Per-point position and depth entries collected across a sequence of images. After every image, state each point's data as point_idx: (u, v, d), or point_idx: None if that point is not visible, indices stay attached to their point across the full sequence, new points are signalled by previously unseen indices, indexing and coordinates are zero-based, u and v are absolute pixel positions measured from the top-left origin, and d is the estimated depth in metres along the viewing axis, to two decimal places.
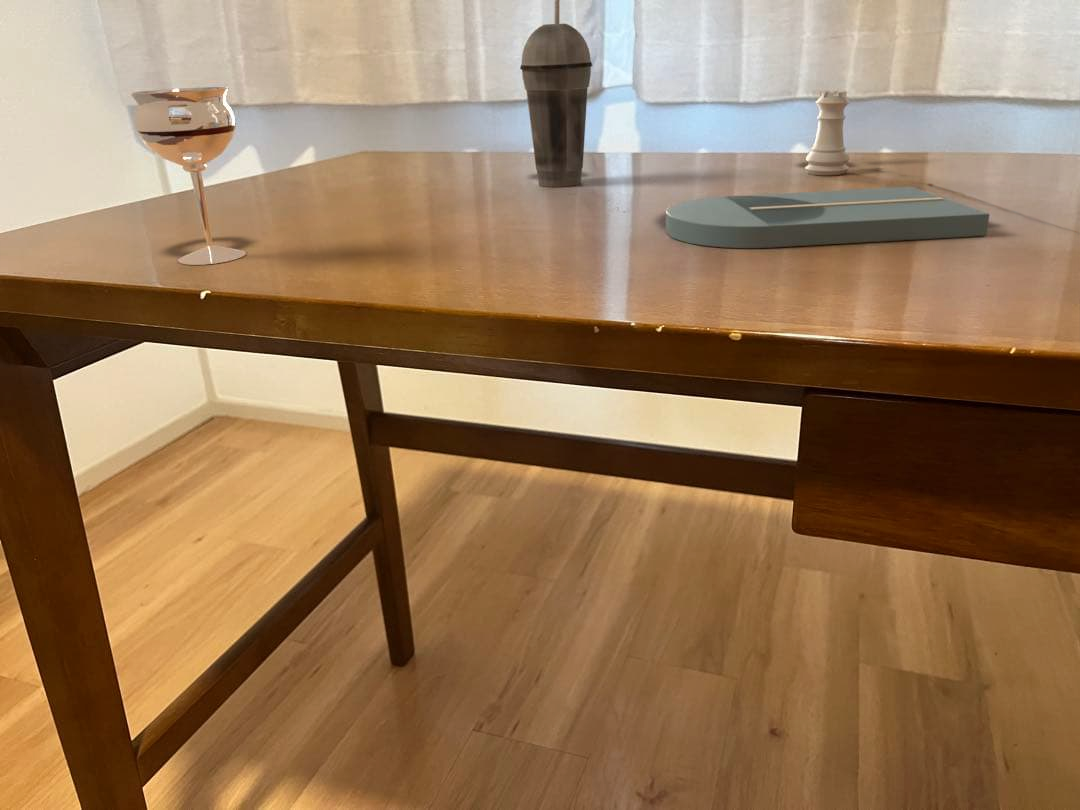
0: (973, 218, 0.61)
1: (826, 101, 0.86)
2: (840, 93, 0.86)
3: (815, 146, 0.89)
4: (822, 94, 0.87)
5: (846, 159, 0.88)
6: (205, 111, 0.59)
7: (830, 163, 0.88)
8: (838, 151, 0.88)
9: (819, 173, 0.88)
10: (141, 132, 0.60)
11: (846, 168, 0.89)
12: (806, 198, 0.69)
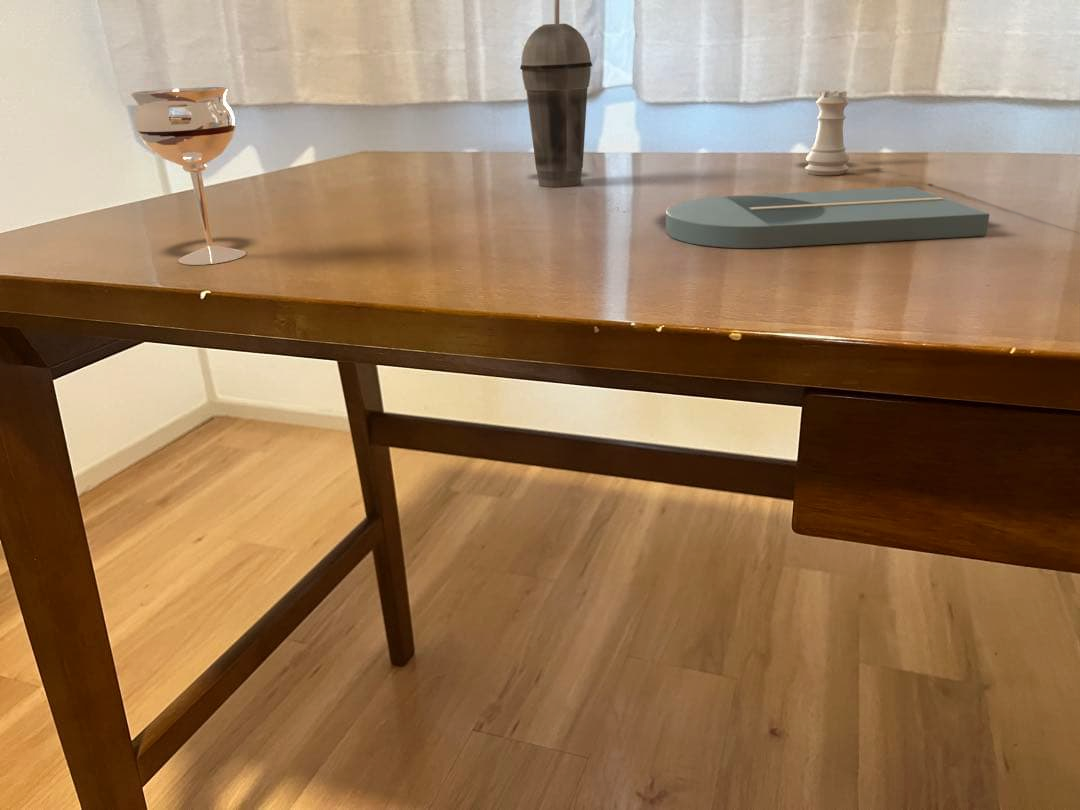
0: (973, 218, 0.61)
1: (826, 101, 0.86)
2: (840, 93, 0.86)
3: (815, 146, 0.89)
4: (822, 94, 0.87)
5: (846, 159, 0.88)
6: (205, 111, 0.59)
7: (830, 163, 0.88)
8: (838, 151, 0.88)
9: (819, 173, 0.88)
10: (141, 132, 0.60)
11: (846, 168, 0.89)
12: (806, 198, 0.69)
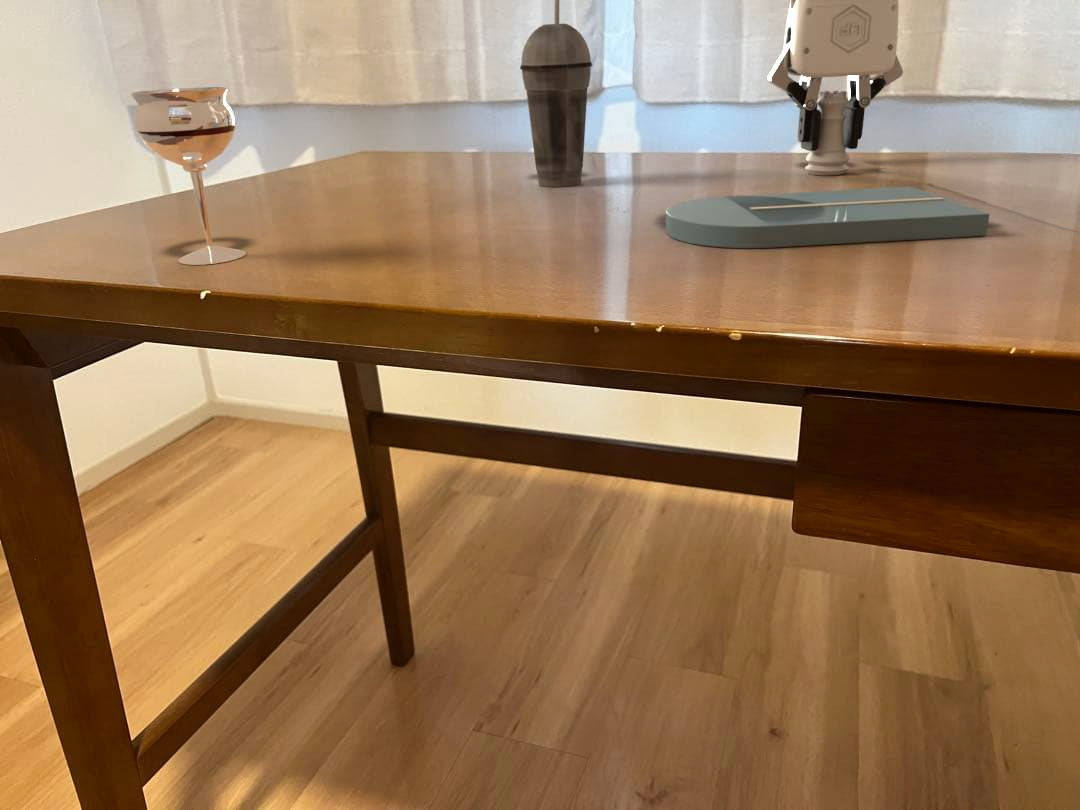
0: (973, 218, 0.61)
1: (826, 101, 0.86)
2: (840, 93, 0.86)
3: None
4: (822, 94, 0.87)
5: (846, 159, 0.88)
6: (205, 111, 0.59)
7: (830, 163, 0.88)
8: (838, 151, 0.88)
9: (819, 173, 0.88)
10: (141, 132, 0.60)
11: (846, 168, 0.89)
12: (806, 198, 0.69)
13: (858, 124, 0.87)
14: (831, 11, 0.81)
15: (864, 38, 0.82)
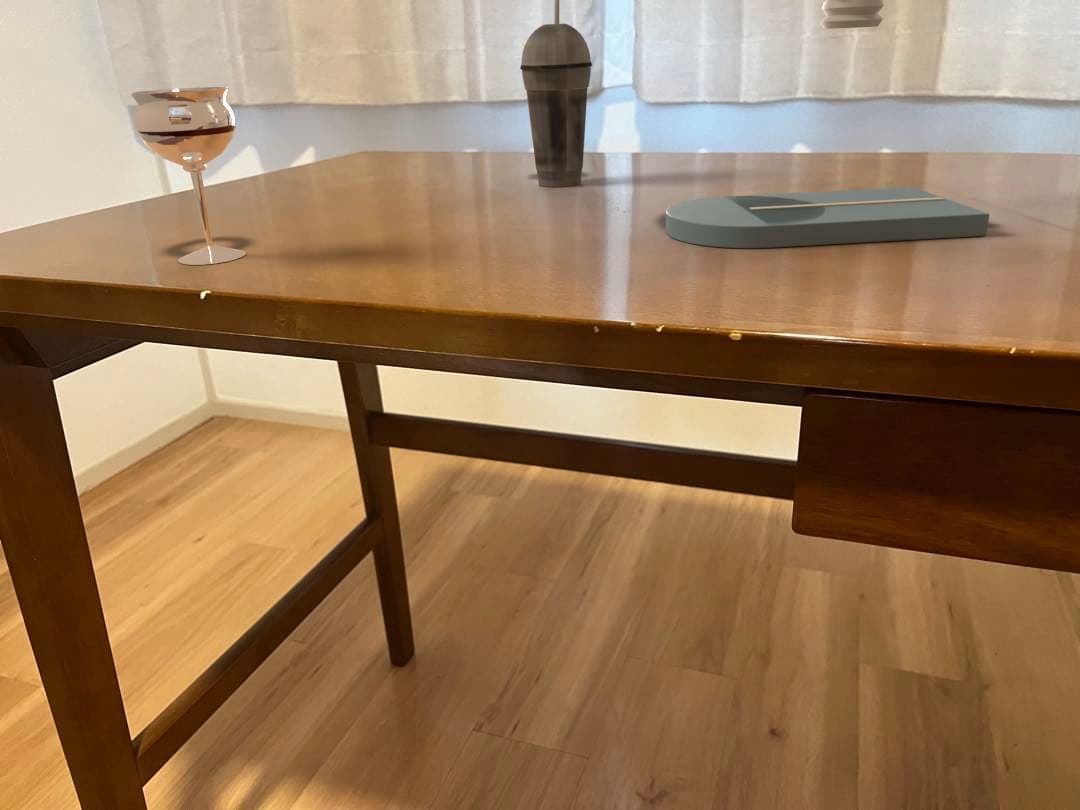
0: (973, 218, 0.61)
1: None
2: None
3: None
4: None
5: (879, 4, 0.62)
6: (205, 111, 0.59)
7: (856, 9, 0.61)
8: None
9: (841, 25, 0.62)
10: (141, 132, 0.60)
11: (879, 18, 0.62)
12: (806, 198, 0.69)
13: None
14: None
15: None
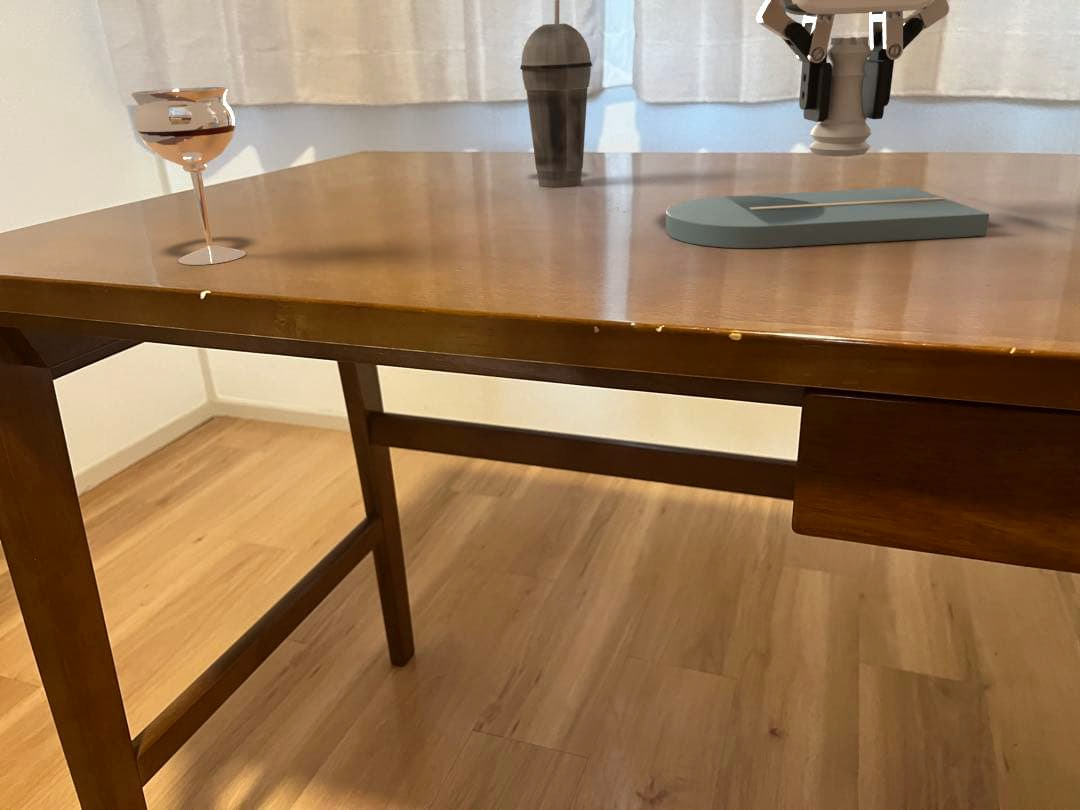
0: (973, 218, 0.61)
1: (839, 50, 0.61)
2: (860, 39, 0.60)
3: None
4: (834, 41, 0.61)
5: (867, 133, 0.63)
6: (205, 111, 0.59)
7: (844, 139, 0.62)
8: (856, 122, 0.62)
9: (829, 153, 0.63)
10: (141, 132, 0.60)
11: (867, 146, 0.63)
12: (806, 198, 0.69)
13: (885, 83, 0.61)
14: None
15: None
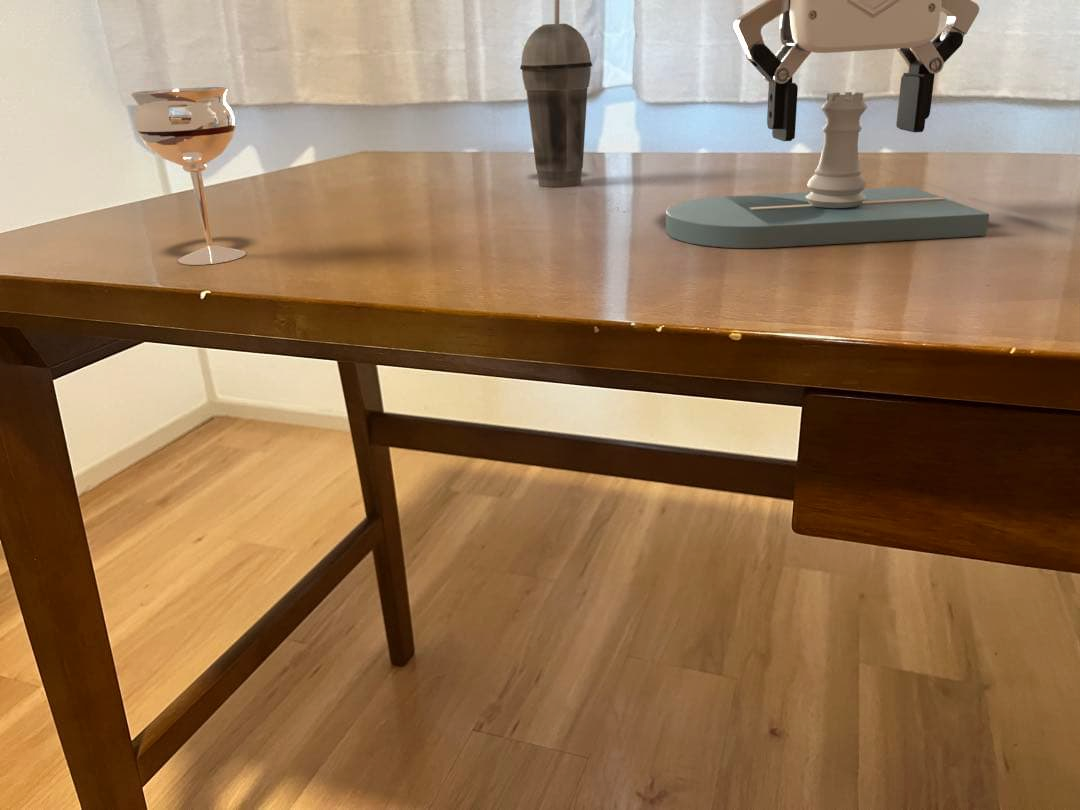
0: (973, 218, 0.61)
1: (834, 106, 0.62)
2: (855, 95, 0.62)
3: (820, 168, 0.65)
4: (830, 97, 0.63)
5: (862, 186, 0.64)
6: (205, 111, 0.59)
7: (840, 192, 0.64)
8: (851, 175, 0.64)
9: (825, 205, 0.65)
10: (141, 132, 0.60)
11: (862, 198, 0.65)
12: None
13: (926, 97, 0.62)
14: None
15: None
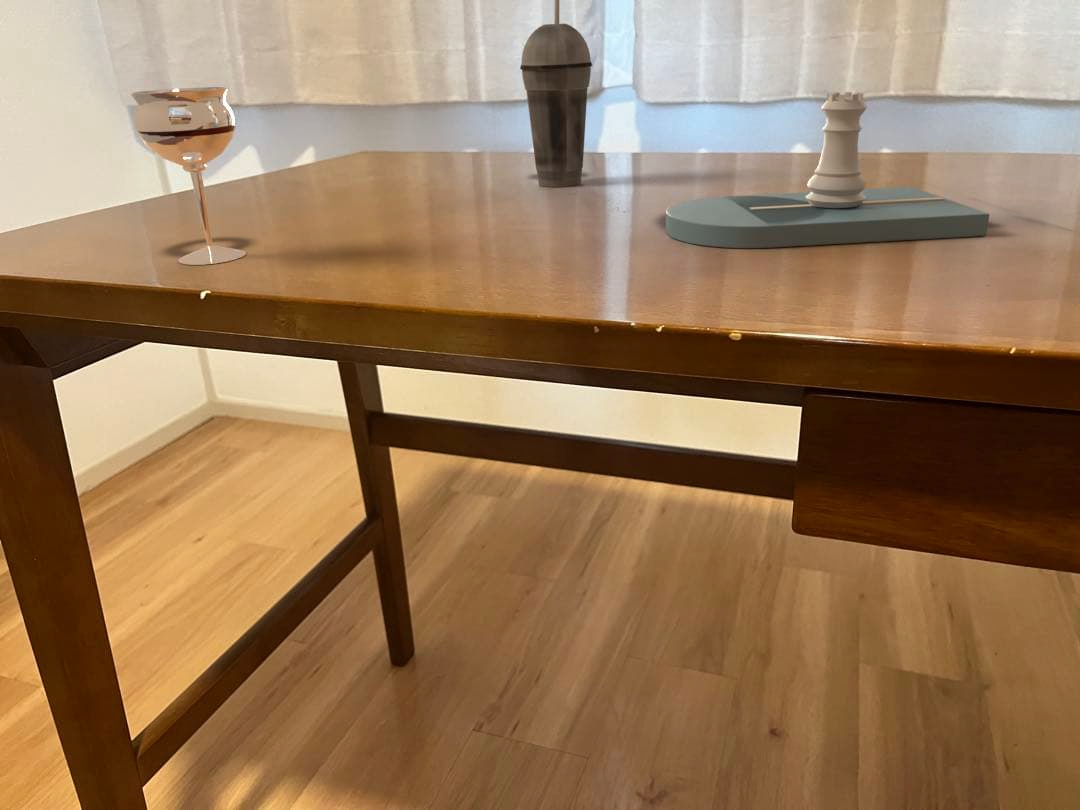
0: (973, 218, 0.61)
1: (834, 106, 0.62)
2: (855, 95, 0.62)
3: (820, 168, 0.65)
4: (830, 97, 0.63)
5: (862, 186, 0.64)
6: (205, 111, 0.59)
7: (840, 192, 0.64)
8: (851, 175, 0.64)
9: (825, 205, 0.65)
10: (141, 132, 0.60)
11: (862, 198, 0.65)
12: None
13: None
14: None
15: None
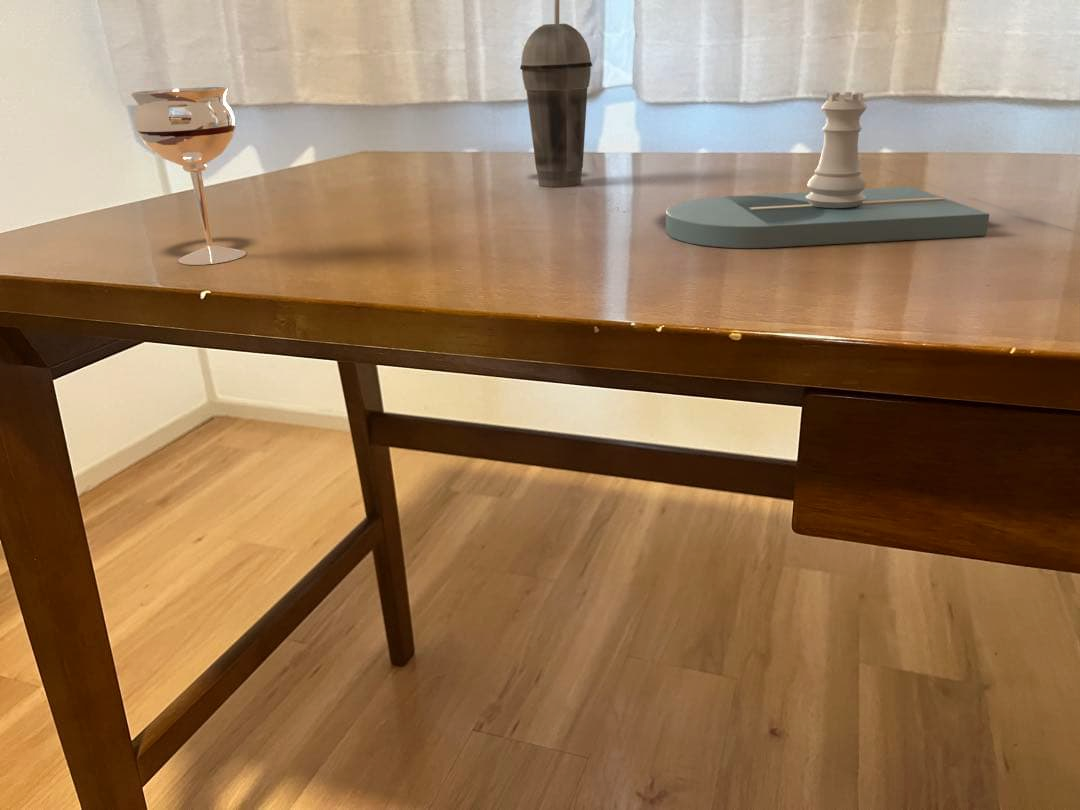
0: (973, 218, 0.61)
1: (834, 106, 0.62)
2: (855, 95, 0.62)
3: (820, 168, 0.65)
4: (830, 97, 0.63)
5: (862, 186, 0.64)
6: (205, 111, 0.59)
7: (840, 192, 0.64)
8: (851, 175, 0.64)
9: (825, 205, 0.65)
10: (141, 132, 0.60)
11: (862, 198, 0.65)
12: None
13: None
14: None
15: None
